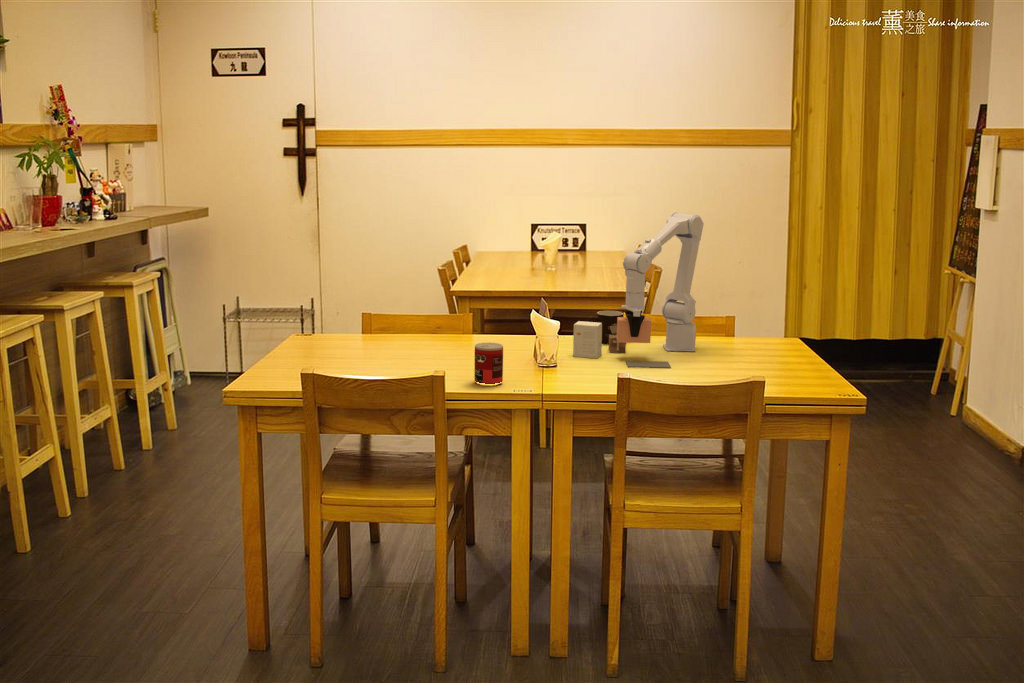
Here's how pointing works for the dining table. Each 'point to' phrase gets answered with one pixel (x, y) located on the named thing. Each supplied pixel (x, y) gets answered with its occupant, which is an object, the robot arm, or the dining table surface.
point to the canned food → (488, 363)
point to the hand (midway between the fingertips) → (633, 334)
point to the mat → (649, 364)
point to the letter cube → (616, 345)
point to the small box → (587, 339)
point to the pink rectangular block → (624, 331)
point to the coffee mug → (607, 323)
